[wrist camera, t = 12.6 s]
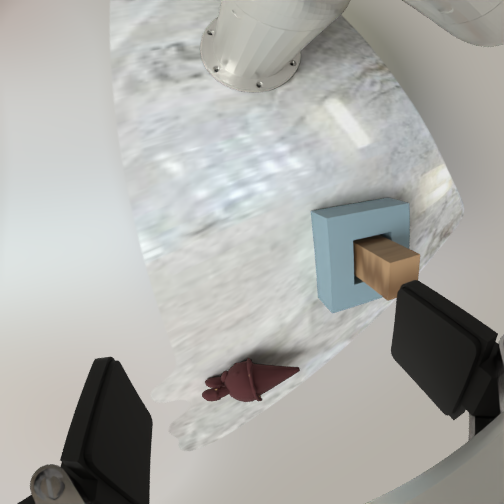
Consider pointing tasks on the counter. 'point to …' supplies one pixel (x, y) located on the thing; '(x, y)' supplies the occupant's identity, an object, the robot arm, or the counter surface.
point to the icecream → (247, 381)
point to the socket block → (341, 246)
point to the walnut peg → (384, 264)
